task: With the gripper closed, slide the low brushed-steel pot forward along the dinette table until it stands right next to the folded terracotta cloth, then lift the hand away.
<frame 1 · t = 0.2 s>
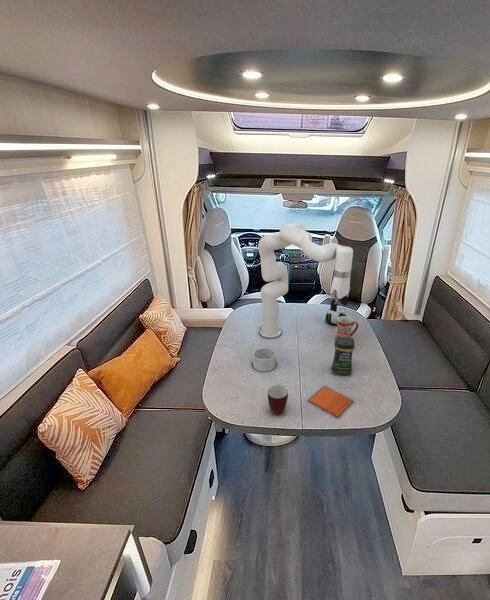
hand: (338, 307, 150), 31 cm above the table, tool pointing down, fingers open, 9 cm apart
coffee jar: (341, 371, 155), on the table
headphones: (336, 322, 204), on the table
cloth: (330, 401, 135), on the table
mug 2: (345, 340, 183), on the table
pot: (264, 364, 158), on the table
mug: (277, 409, 129), on the table
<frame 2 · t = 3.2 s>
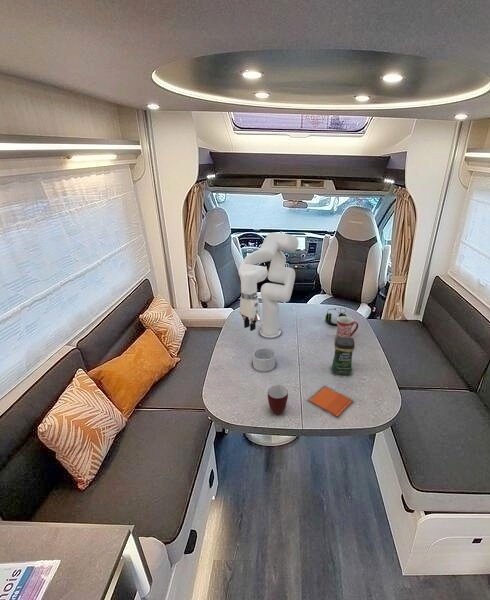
hand: (249, 328, 157), 17 cm above the table, tool pointing down, fingers open, 3 cm apart
nothing on the table moved.
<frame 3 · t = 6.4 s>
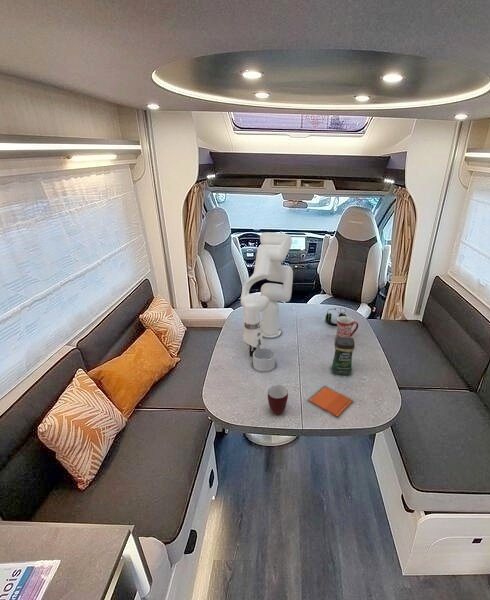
hand: (252, 355, 162), 2 cm above the table, tool pointing down, fingers closed
pot: (264, 364, 158), on the table, touching gripper
everything else where it was.
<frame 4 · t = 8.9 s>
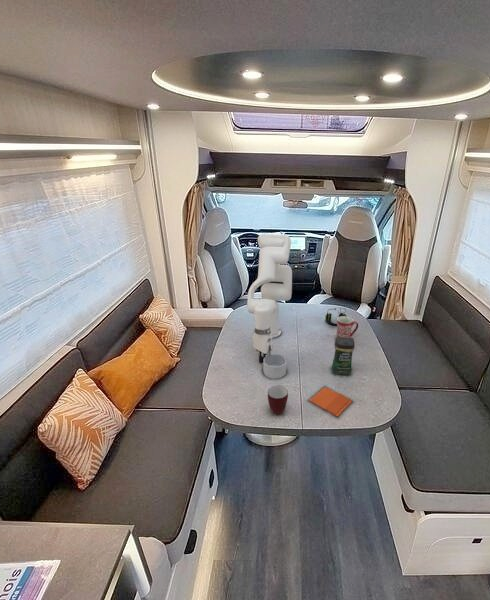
hand: (262, 362, 157), 2 cm above the table, tool pointing down, fingers closed
pot: (274, 371, 153), on the table, touching gripper
everything else where it was.
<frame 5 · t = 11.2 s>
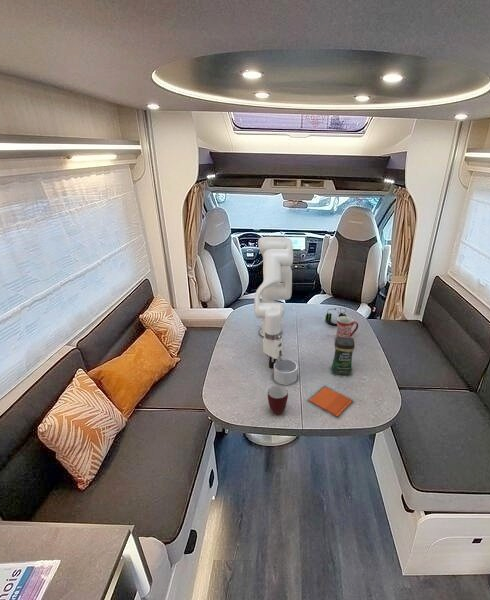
hand: (272, 367, 153), 2 cm above the table, tool pointing down, fingers closed
pot: (285, 377, 149), on the table, touching gripper
everything else where it was.
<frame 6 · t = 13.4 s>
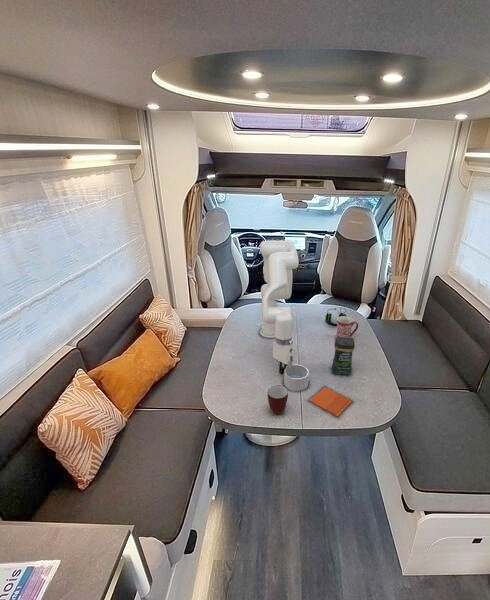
hand: (282, 372, 149), 2 cm above the table, tool pointing down, fingers closed
pot: (296, 383, 145), on the table, touching gripper
everything else where it was.
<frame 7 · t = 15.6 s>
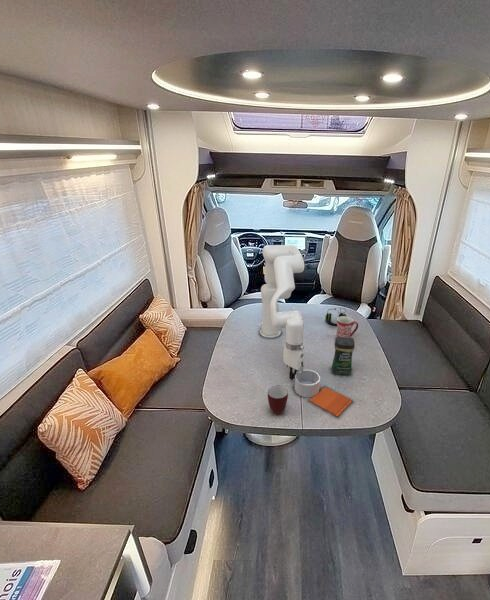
hand: (292, 378, 146), 2 cm above the table, tool pointing down, fingers closed
pot: (306, 388, 142), on the table, touching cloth, gripper
everything else where it was.
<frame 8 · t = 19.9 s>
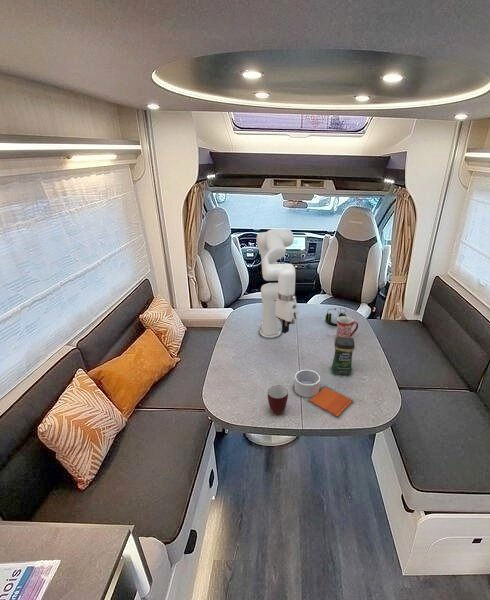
hand: (285, 331, 147), 21 cm above the table, tool pointing down, fingers closed
pot: (306, 388, 142), on the table, touching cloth
everything else where it was.
at the end: pot inside the target area on the table beside the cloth (1.5 cm from its centre), on the table; pot tilted 0° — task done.
